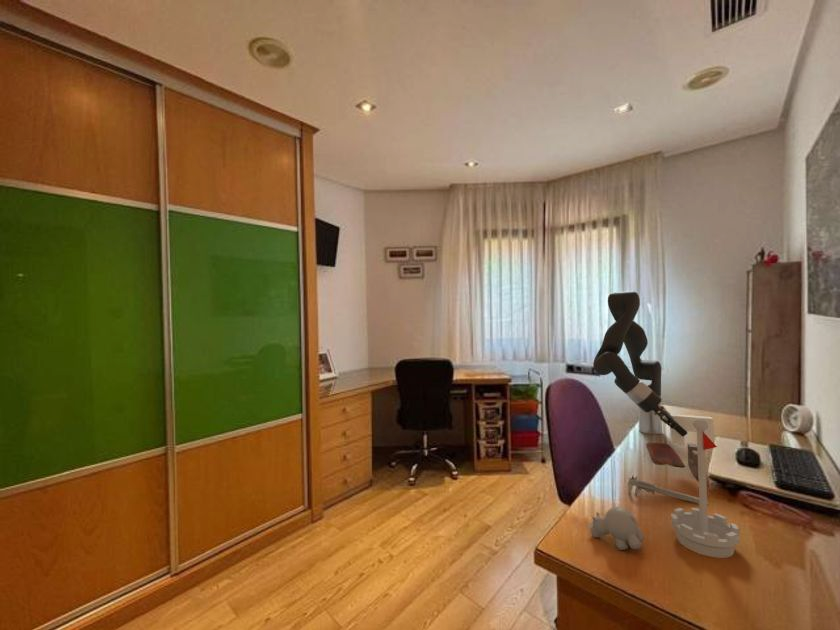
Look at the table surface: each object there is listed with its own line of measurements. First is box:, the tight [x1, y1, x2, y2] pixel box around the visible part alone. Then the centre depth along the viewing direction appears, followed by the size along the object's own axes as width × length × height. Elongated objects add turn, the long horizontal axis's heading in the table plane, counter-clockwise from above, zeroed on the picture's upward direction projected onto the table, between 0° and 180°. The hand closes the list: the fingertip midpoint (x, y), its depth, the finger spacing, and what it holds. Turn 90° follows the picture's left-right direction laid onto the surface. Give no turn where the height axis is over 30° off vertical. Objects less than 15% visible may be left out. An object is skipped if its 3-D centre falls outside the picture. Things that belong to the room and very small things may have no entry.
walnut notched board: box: [687, 442, 699, 480], centre depth 131 cm, size 12×2×8 cm, turn 154°
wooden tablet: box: [645, 442, 685, 468], centre depth 149 cm, size 27×10×2 cm, turn 156°
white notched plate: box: [669, 413, 715, 446], centre depth 132 cm, size 2×12×10 cm, turn 64°
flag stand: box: [670, 418, 740, 559], centre depth 91 cm, size 13×13×30 cm
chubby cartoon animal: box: [587, 506, 645, 551], centre depth 93 cm, size 7×12×8 cm, turn 46°
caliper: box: [627, 474, 709, 506], centre depth 113 cm, size 20×1×6 cm, turn 69°
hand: (684, 433), depth 133 cm, fingers closed on white notched plate, 2 cm apart
